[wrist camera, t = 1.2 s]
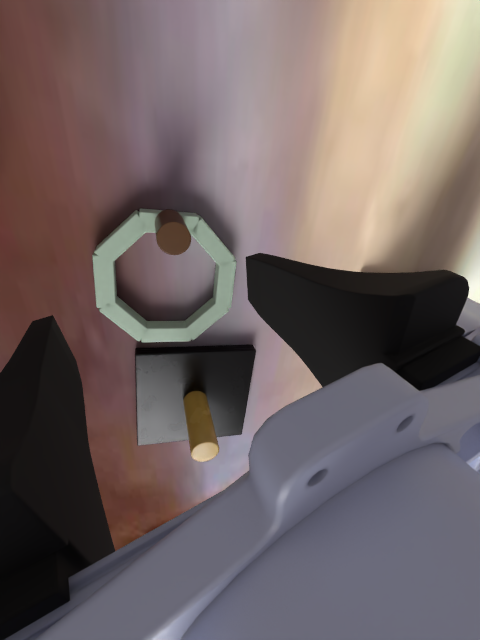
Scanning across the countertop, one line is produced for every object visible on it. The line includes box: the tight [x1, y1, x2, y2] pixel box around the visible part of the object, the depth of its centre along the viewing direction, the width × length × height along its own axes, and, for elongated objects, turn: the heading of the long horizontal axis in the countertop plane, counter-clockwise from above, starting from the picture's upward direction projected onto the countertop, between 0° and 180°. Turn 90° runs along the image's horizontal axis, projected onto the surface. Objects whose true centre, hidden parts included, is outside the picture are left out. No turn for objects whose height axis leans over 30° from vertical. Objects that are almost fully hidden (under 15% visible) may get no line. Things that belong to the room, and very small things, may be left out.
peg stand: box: [135, 345, 256, 462], centre depth 26 cm, size 10×10×6 cm
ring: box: [92, 208, 236, 342], centre depth 21 cm, size 10×9×5 cm
